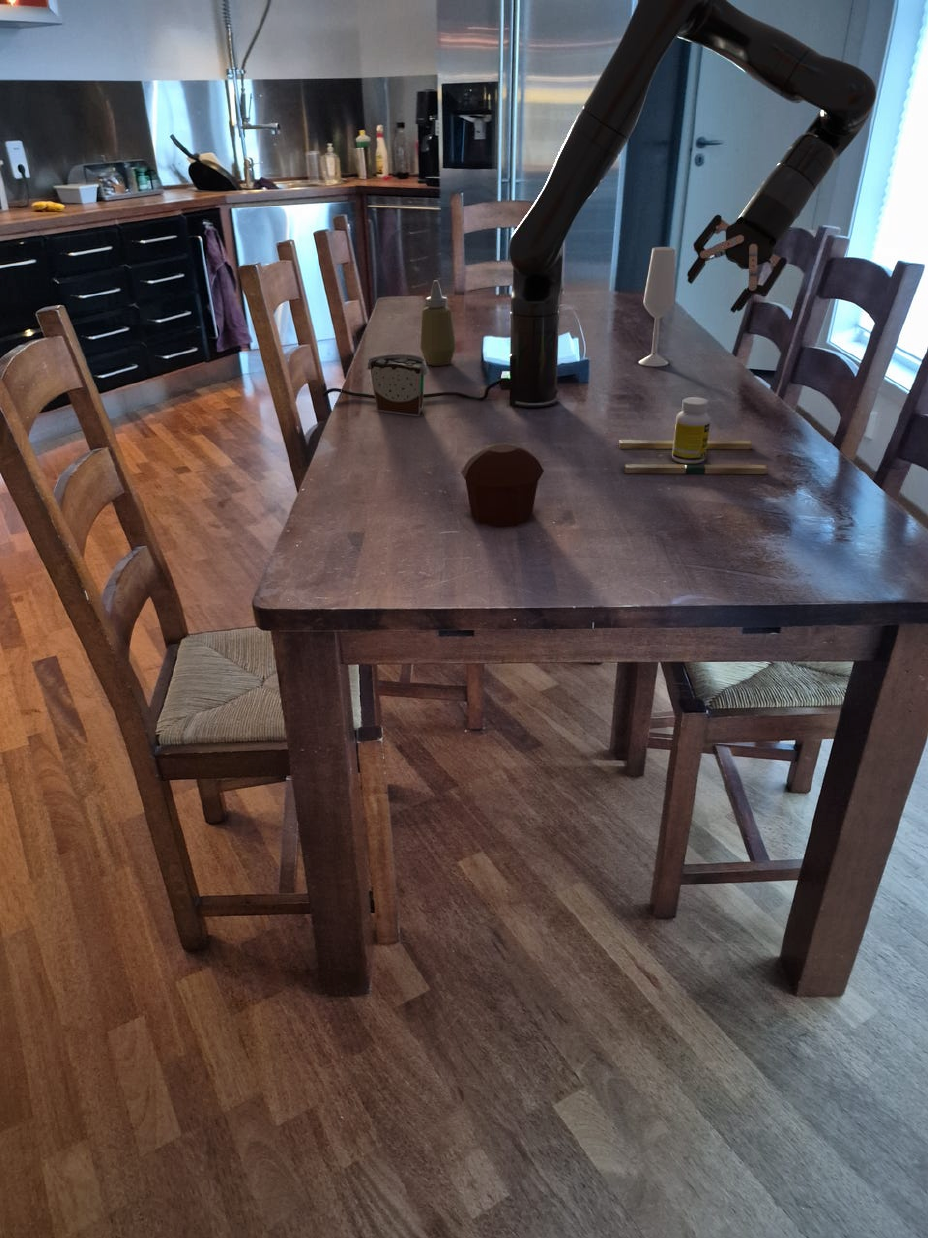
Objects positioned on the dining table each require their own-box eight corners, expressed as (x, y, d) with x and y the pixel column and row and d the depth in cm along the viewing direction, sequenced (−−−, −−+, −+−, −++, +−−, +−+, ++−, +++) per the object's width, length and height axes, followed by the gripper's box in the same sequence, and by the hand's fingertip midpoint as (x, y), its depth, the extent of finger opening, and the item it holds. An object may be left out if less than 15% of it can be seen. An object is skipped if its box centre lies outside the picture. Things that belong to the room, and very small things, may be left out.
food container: (440, 408, 170) (438, 356, 165) (426, 417, 165) (423, 364, 160) (385, 401, 175) (382, 351, 169) (370, 410, 170) (366, 358, 165)
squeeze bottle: (461, 359, 202) (459, 278, 192) (449, 368, 195) (446, 284, 186) (428, 357, 204) (425, 276, 195) (416, 366, 197) (411, 283, 188)
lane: (625, 473, 138) (625, 467, 138) (618, 445, 149) (619, 440, 149) (765, 474, 136) (766, 468, 136) (748, 446, 148) (749, 440, 147)
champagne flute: (656, 367, 192) (666, 251, 179) (632, 362, 196) (641, 248, 184) (674, 362, 195) (686, 247, 183) (650, 357, 200) (660, 245, 188)
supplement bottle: (705, 465, 140) (713, 406, 135) (671, 464, 141) (677, 404, 136) (704, 454, 145) (712, 396, 140) (671, 452, 146) (677, 395, 141)
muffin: (481, 536, 119) (480, 467, 114) (450, 507, 128) (448, 442, 123) (556, 520, 123) (559, 453, 118) (521, 493, 132) (522, 430, 127)
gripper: (739, 172, 133) (673, 266, 138) (816, 222, 131) (747, 316, 136) (738, 188, 140) (676, 277, 145) (812, 236, 138) (746, 325, 143)
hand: (710, 296), depth 140 cm, fingers open, 8 cm apart
